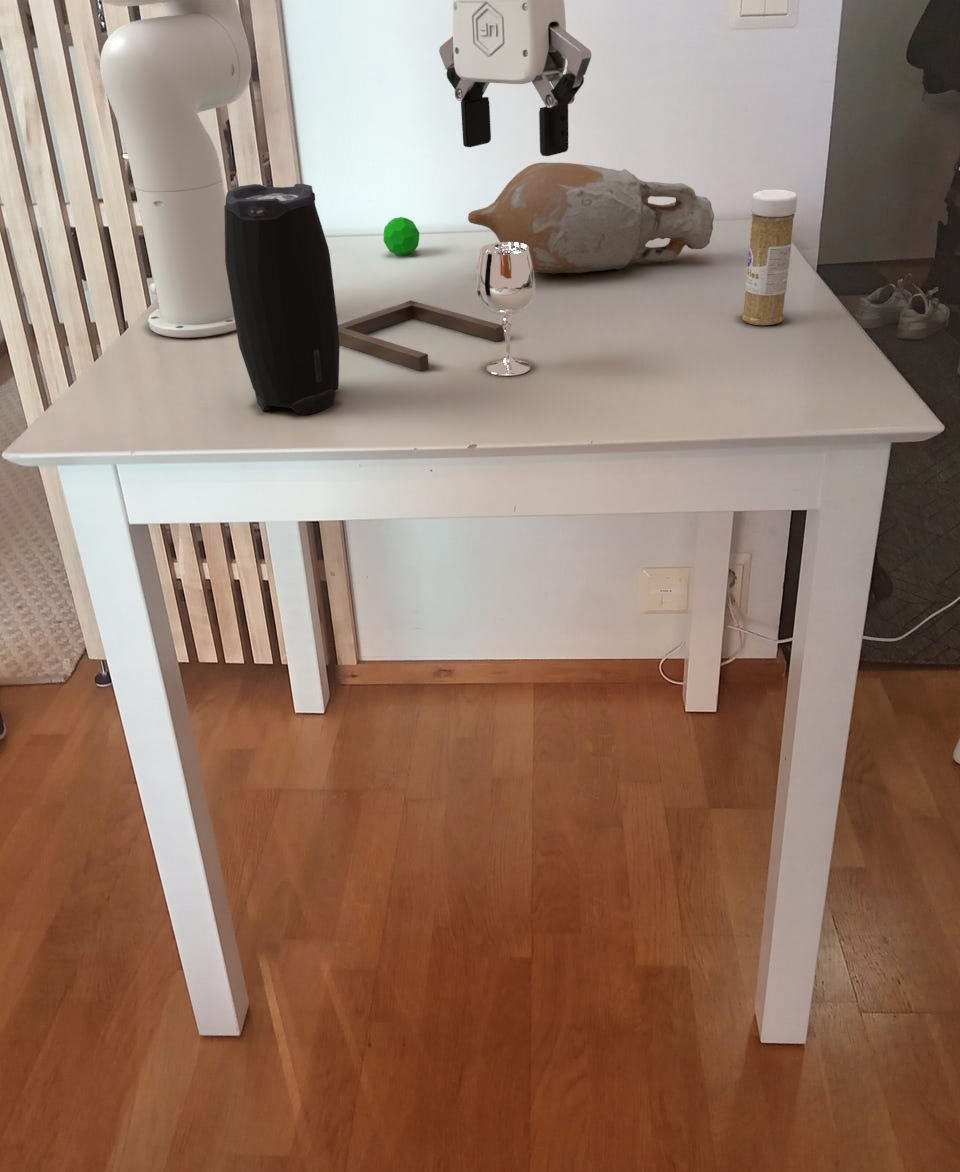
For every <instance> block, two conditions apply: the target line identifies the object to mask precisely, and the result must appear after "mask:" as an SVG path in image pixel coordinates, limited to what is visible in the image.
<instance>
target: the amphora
mask: <svg viewBox="0 0 960 1172" xmlns="http://www.w3.org/2000/svg"><path fill="white" fill-rule="evenodd" d="M650 197H656V198H675V201H674V202H670V203H666V204H656V203H651V202H649V198H650ZM714 218H715V213H714V211H713V207H712V203H711V201H710V200H709V199H708V198H707V197H706V196H700V195H696V193H695V190H694V189H693V188H692V187H691V186H689V185H687V184H685V183H682V182H677V183H676V182H675V183H670V182H669V183H668V182H661V181H659V182H658V181H657V182H656V181H644V180H641V179H639V178H638V177H637V176H636V175H635V174H634V173H631V172H630V171H629V170H627V169H625V168H623V169H622V170H617V169H614V168H607V167H602V166H597V165H591V164H590V165H589V164H581V163H573V162H572V163H571V162H536V163H533V164H530V165H528V166H526V167H525V168H523V169H522V170H521V171H519V172H518V173H517V174H516V175H515V176H513V177H512V179H510V180H509V182H508V183H507V184H506V185H505V187H504V188H503V189H502V190H501V192H500V193H499V195H498V196H497V198H496V199H495V200H494V201H493V202H492V203H491V204H489V205H488V206H486V207H483V208H479V209H474V210H472V211H470V212H469V213H468V215H467V221H468V222H469V223H470V224H473V225H478V226H482V227H486V228H488V229H490V230H491V232H493V233H494V235H495V236H496V238H497V240H498V241H499V242H517V243H523V244H526V245H528V246H529V249H530V253H531V257H532V261H533V265H534V271H535V273H542V274H543V273H544V274H552V275H557V274H561V273H562V274H579V275H580V274H583V273H589V272H599V271H600V272H602V271H603V272H604V271H609V270H618V271H620V270H623V269H624V268H626V267H627V266H628V265H629V263H631V262H642V261H643V262H651V263H652V262H653V263H656V262H659V263H660V262H661V263H667V262H668V261H674V260H675V259H676V258H677V257H678V256H679V255H680V253H681V252H682V250H683V249H684V248H685V246H686V247H687V248H688V249H691V250H703V249H705V248H707V246H708V245H709V244H710V243H711V237H712V235H713V230H714ZM656 239H660V240H665V239H669V242H668V243H667V244H666V245H663V246H656V247H655V246H654V247H653V246H651V247H650V246H647V244H648V242H650V241H655V240H656Z"/></svg>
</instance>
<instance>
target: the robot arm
mask: <svg viewBox="0 0 960 1172" xmlns="http://www.w3.org/2000/svg"><path fill="white" fill-rule="evenodd" d="M100 1H101V2H102V3H104V4H107V5H110V6H114V7H136V6H137V7H138V6H146V5H155V4H160V7H161V9H162V13H163V15H164V16H156V17H149V18H141V19H138V20H137V19H136V20H134V21H130V22H128V23H125V24H123V25H121V26H119V27H118V28H117V29H115V30H114V31H113V32H112V33H111V34H110V35H109V36H108V38H107V39H106V41H105V42H104V43H103V46H102V49H101V51H100V59H99V71H100V77H101V81H102V84H103V88H104V91H105V94H106V97H107V99H108V101H109V104H110V106H111V109H112V111H113V114H114V117H115V119H116V122H117V124H118V127H119V130H120V134H121V137H122V139H123V144H124V147H125V151H126V155H127V159H128V163H129V168H130V173H131V177H132V182H133V187H134V190H135V191H134V192H135V195H136V201H137V205H138V209H139V214H140V219H141V224H142V229H143V234H144V239H145V245H146V248H147V254H148V258H149V264H150V269H151V272H152V277H153V282H152V283H150V285H149V291H150V293H152V294H153V295H156V298H157V302H158V308H156V309H155V310H153V311H152V312H151V313H150V314H149V316H148V317H147V320H148V326H149V329H150V330H151V331H152V332H154V333H155V334H157V335H160V336H163V337H170V338H182V339H183V338H184V339H188V338H190V339H191V338H203V337H212V336H218V335H223V334H226V333H231V332H234V331H237V330H236V324H235V318H234V312H233V306H232V300H231V294H230V288H229V282H228V276H227V270H226V264H225V213H224V205H225V204H226V190H225V183H224V180H223V179H224V178H223V173H222V168H221V163H220V158H219V154H218V152H217V150H216V147H215V144H214V142H213V140H212V138H211V136H210V135H209V133H208V131H207V129H206V127H205V126H204V124H203V122H202V120H201V118H200V116H199V113H202V112H206V111H209V110H214V109H218V108H221V107H225V106H228V105H231V104H233V103H234V102H236V101H238V100H239V99H240V98H241V97H242V96H243V95H244V93H245V92H246V90H247V89H248V87H249V84H250V80H251V74H252V59H251V58H252V57H251V51H250V45H249V41H248V37H247V34H246V32H245V27H244V24H243V21H242V16H241V13H240V11H239V7H238V3H237V0H100ZM438 52H439V56H440V57H441V60H442V63H443V66H444V69H445V70H446V78H447V80H448V81H449V83H450V85H451V86H452V87H453V89H454V96H455V99H456V100H457V101H458V102H460V111H461V114H460V115H461V126H462V127H461V129H462V144H463V147H465V148H473V147H476V146H477V147H479V146H482V145H486V144H489V143H490V142H491V141H492V131H491V130H492V128H491V109H490V107H491V106H490V99H489V97H488V96H484V95H485V92H486V91H487V89H488V87H489V85H490V84H505V85H525V84H529V83H532V85H533V86H534V88H535V90H536V91H537V93H538V95H539V97H540V98H541V100H542V102H543V104H544V106H541V107H539V111H538V121H539V122H538V125H539V126H538V127H539V130H538V131H539V153H540V154H541V156H543V157H550V156H554V155H558V154H562V153H566V152H567V151H568V150H569V105H570V104H573V103H574V101H575V99H576V94H577V93H578V92H579V90H580V89H581V87H582V86H583V84H584V82H585V77H584V76H585V75H586V73H587V70H588V68H589V65H590V62H591V59H592V51H591V50H590V48H588V47H587V46H586V45H584V44H583V43H582V42H580V41H579V40H578V39H577V38H576V37H574V36H573V35H571V34H570V33H568V32H567V23H566V7H565V0H452V35H451V37H450V38H449V39H448V40H446V41H445V42H444V43H443V44H442V45H441V46H440V47H439V51H438ZM566 63H567V64H566ZM565 70H566V71H565ZM564 71H565V72H564Z"/></svg>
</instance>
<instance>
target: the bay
mask: <svg viewBox="0 0 960 1172" xmlns="http://www.w3.org/2000/svg"><path fill="white" fill-rule="evenodd" d="M410 319H411V320H412V319H416V320H419V321H423V322H425V323H426V322H427V323H430V324H433V325H437V326H439V327H440V326H441V327H444V328H448V329H451V330H454V331H458V332H461V333H465V334H469V335H472V336H475V337H479V338H482V339H486V340H490V341H493V342H500V341H502V340H505V334H504V330H503V326H502V324H500V323H495V322H492V321H488V320H485V319H481V318H477V317H473V316H470V315H467V314H463V313H459V312H455V311H452V310H448V309H444V308H440V307H437V306H433V305H429V304H426V303H422V302H419V301H415V300H408V301H405V302H401V303H399V304H395V305H393V306H390V307H387V308H384V309H381V310H378V311H374V312H372V313H369V314H366V315H363V316H360V317H357V318H354V319H351V320H348V321H345V322H342V323H338V333H339V345H340V346H343V347H345V348H349V349H352V350H355V351H357V352H360V353H364V354H366V355H370V356H373V357H376V358H379V359H383V360H386V361H389V362H392V363H395V364H397V365H400V366H403V367H406V368H410V369H413V370H415V371H419V372H422V371H424V370H428V369H430V365H429V364H430V363H429V354H428V353H425V352H423V351H419V350H416V349H413V348H410V347H407V346H403V345H400V344H397V343H394V342H390V341H387V340H385V339H381V338H378V337H374V336H371V335H368V334H371V333H373V332H376V331H379V330H381V329H384V328H388V327H390V326H394V325H396V324H399V323H403V322H405V321H409V320H410Z"/></svg>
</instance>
